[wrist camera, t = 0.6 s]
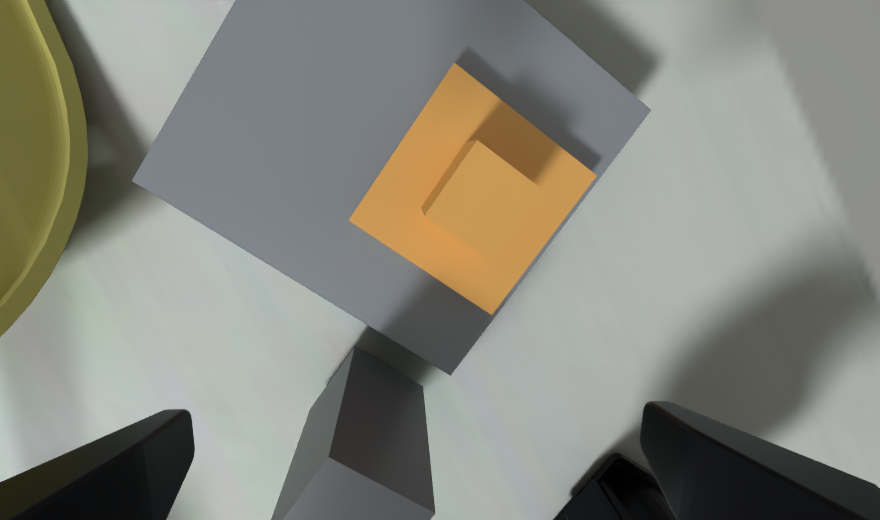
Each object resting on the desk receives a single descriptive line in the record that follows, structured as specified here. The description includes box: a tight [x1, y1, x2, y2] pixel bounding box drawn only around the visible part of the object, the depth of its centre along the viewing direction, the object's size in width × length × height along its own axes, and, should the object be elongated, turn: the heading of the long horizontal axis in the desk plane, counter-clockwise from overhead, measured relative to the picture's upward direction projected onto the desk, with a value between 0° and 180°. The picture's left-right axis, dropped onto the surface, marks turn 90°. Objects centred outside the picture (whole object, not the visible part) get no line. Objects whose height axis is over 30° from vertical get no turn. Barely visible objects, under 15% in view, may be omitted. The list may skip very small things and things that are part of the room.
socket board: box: [132, 0, 651, 376], centre depth 19 cm, size 15×14×3 cm
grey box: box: [271, 347, 435, 520], centre depth 18 cm, size 4×4×9 cm
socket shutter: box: [349, 63, 597, 315], centre depth 16 cm, size 7×7×3 cm
